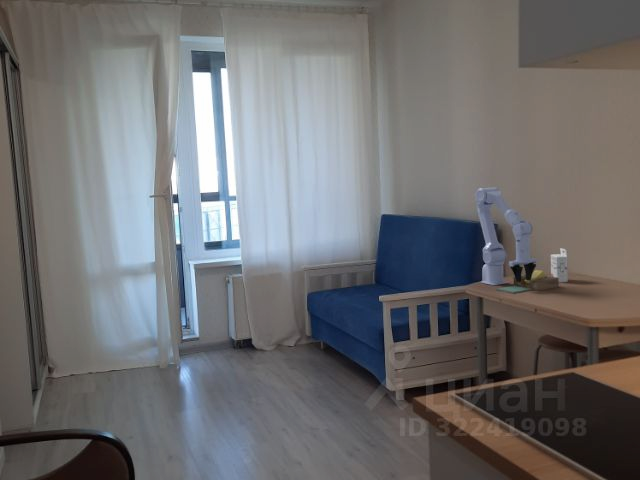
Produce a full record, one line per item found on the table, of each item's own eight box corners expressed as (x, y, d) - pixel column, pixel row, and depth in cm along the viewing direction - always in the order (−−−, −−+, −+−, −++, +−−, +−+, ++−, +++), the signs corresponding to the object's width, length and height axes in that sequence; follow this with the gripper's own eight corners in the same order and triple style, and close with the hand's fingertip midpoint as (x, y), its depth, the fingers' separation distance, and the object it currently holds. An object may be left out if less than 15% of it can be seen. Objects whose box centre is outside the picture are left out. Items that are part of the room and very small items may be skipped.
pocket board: (513, 286, 277) (513, 277, 276) (534, 282, 282) (534, 273, 282) (537, 290, 264) (537, 281, 264) (558, 286, 270) (558, 277, 269)
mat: (496, 290, 270) (496, 288, 270) (514, 287, 274) (514, 285, 274) (512, 293, 261) (512, 292, 261) (530, 290, 265) (530, 288, 265)
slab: (526, 285, 274) (524, 280, 273) (538, 274, 276) (535, 269, 275) (533, 287, 270) (531, 281, 269) (545, 276, 272) (542, 270, 272)
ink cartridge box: (550, 279, 288) (549, 248, 286) (561, 278, 287) (560, 247, 286) (557, 282, 279) (556, 250, 277) (568, 282, 279) (567, 249, 277)
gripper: (516, 252, 262) (517, 284, 263) (542, 249, 268) (542, 280, 269) (505, 251, 268) (505, 282, 269) (530, 247, 274) (530, 278, 276)
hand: (523, 281), depth 270 cm, fingers open, 5 cm apart
